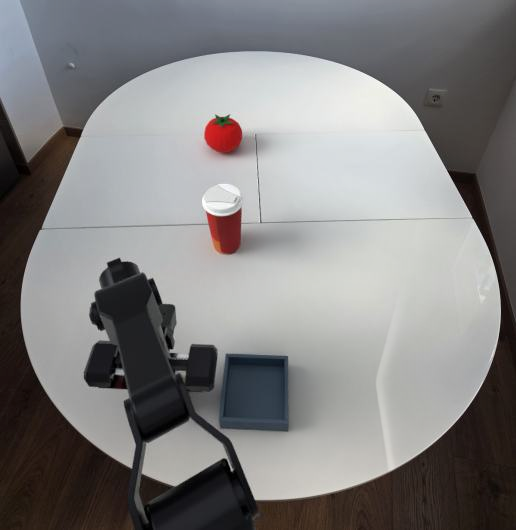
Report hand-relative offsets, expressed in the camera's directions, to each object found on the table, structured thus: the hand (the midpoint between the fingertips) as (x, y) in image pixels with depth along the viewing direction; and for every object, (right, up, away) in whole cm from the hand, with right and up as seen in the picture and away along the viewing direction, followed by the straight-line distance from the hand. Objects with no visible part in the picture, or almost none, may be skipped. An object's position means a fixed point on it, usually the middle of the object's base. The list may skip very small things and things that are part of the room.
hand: (161, 387), depth 69 cm
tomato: (+6, +43, +51) cm, 67 cm away
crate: (+15, -3, +3) cm, 16 cm away
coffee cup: (+8, +19, +27) cm, 34 cm away
